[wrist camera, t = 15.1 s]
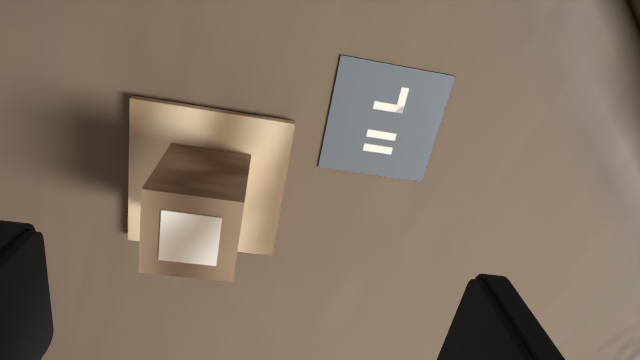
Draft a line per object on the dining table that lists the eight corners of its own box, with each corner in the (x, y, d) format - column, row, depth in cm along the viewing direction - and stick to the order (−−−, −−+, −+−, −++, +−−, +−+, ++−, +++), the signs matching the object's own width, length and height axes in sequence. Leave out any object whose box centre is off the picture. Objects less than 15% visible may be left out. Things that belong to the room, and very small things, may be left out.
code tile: (454, 76, 33) (455, 76, 33) (421, 181, 37) (422, 182, 37) (340, 54, 32) (341, 55, 32) (318, 166, 35) (318, 167, 35)
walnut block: (251, 154, 34) (244, 203, 26) (241, 221, 36) (232, 282, 29) (171, 142, 33) (140, 189, 25) (167, 211, 35) (138, 273, 28)
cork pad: (294, 121, 34) (295, 124, 33) (272, 250, 38) (272, 255, 38) (133, 95, 32) (129, 98, 31) (130, 234, 36) (127, 239, 36)
